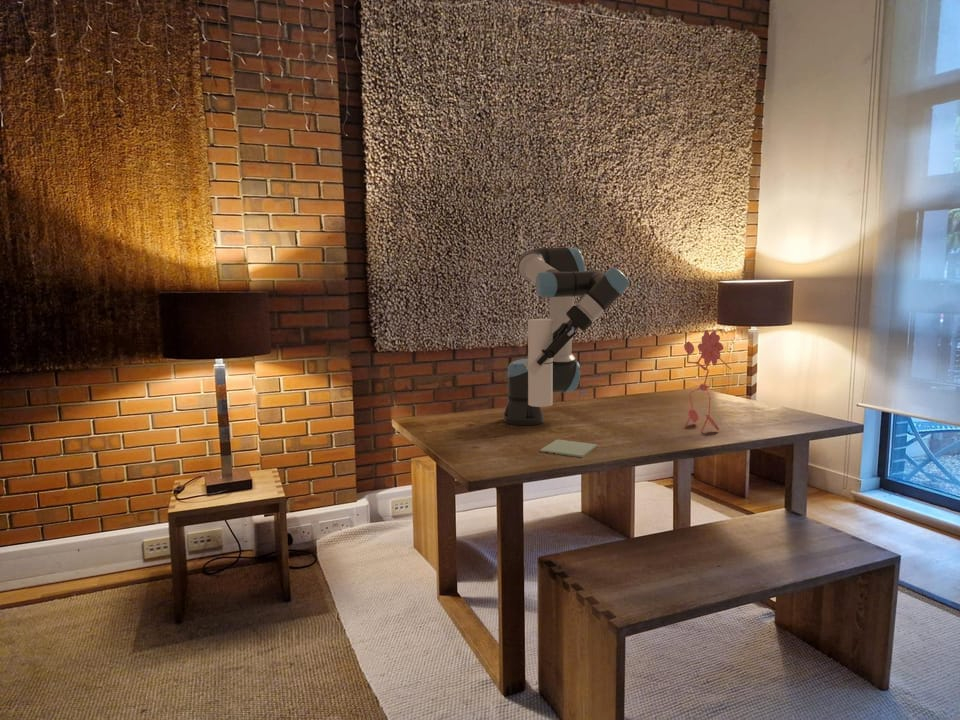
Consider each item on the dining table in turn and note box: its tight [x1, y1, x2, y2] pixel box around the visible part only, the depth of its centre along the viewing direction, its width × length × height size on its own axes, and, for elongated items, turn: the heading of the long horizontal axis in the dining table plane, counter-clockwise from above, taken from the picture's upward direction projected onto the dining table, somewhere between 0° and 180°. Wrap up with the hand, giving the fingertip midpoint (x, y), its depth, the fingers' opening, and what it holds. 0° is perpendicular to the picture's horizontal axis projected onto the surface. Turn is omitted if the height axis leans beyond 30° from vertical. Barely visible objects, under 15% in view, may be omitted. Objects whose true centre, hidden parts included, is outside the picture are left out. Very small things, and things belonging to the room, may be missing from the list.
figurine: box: [683, 329, 732, 433], centre depth 226 cm, size 15×26×35 cm, turn 17°
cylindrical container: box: [527, 318, 554, 408], centre depth 187 cm, size 7×7×25 cm
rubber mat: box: [539, 439, 598, 458], centre depth 203 cm, size 14×14×1 cm
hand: (528, 369), depth 187 cm, fingers closed on cylindrical container, 7 cm apart
